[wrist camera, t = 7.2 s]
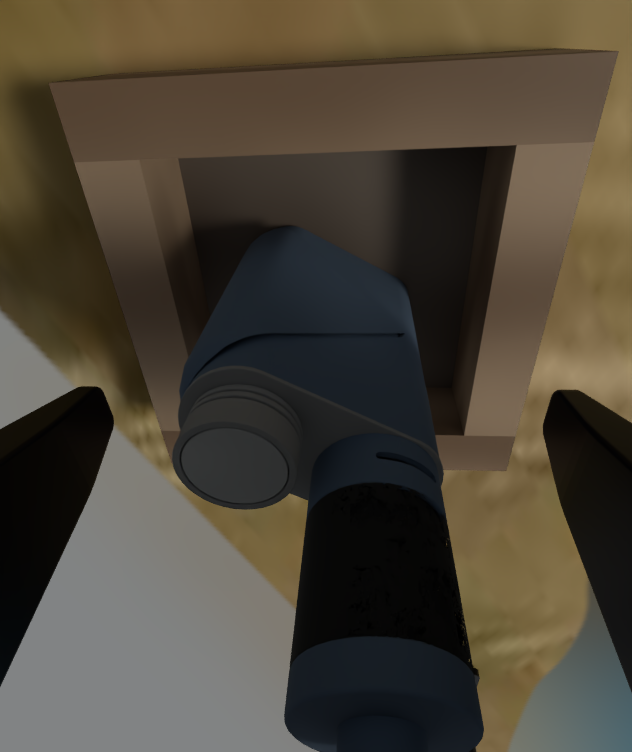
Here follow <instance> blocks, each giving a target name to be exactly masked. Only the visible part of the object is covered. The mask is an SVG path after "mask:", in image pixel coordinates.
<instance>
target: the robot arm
mask: <svg viewBox="0 0 632 752" xmlns="http://www.w3.org/2000/svg"><path fill="white" fill-rule="evenodd" d="M113 426H114V419H113V415H112V412H111V410H110V407H109V405H108V402H107V400H106V397H105V395H104V392H103V391H102V389H101V388H99V387H89V386H82V387H78V388H76V389H74V390H72V391H70V392H68V393H66V394H65V395H63V396H61V397H59V398H57V399H55V400H53V401H51V402H50V403H48V404H46V405H44V406H42V407H40V408H39V409H37V410H35V411H33V412H31V413H29V414H27V415H26V416H24V417H22V418H20V419H18V420H16V421H15V422H13V423H11V424H9V425H7V426H5V427H4V428H2V429H0V686H1V684H2V682H3V680H4V678H5V676H6V673H7V671H8V669H9V667H10V665H11V663H12V661H13V658H14V656H15V654H16V652H17V650H18V648H19V646H20V644H21V641H22V639H23V637H24V635H25V633H26V630H27V629H28V626H29V624H30V622H31V620H32V618H33V616H34V614H35V611H36V609H37V607H38V605H39V603H40V601H41V599H42V596H43V594H44V592H45V590H46V588H47V586H48V584H49V581H50V579H51V577H52V575H53V573H54V571H55V569H56V566H57V564H58V562H59V560H60V558H61V556H62V554H63V551H64V549H65V547H66V545H67V543H68V541H69V539H70V537H71V534H72V532H73V530H74V528H75V526H76V524H77V522H78V519H79V517H80V515H81V513H82V511H83V509H84V506H85V504H86V502H87V500H88V498H89V496H90V493H91V491H92V488H93V485H94V483H95V480H96V477H97V474H98V471H99V469H100V465H101V463H102V459H103V457H104V454H105V451H106V448H107V445H108V442H109V439H110V436H111V433H112V430H113ZM543 435H544V439H545V443H546V447H547V451H548V455H549V460H550V464H551V468H552V472H553V476H554V480H555V484H556V488H557V492H558V496H559V500H560V503H561V506H562V509H563V512H564V515H565V518H566V520H567V523H568V526H569V528H570V531H571V534H572V536H573V539H574V541H575V544H576V547H577V549H578V552H579V555H580V557H581V560H582V563H583V565H584V568H585V570H586V573H587V576H588V578H589V581H590V584H591V586H592V589H593V592H594V594H595V597H596V599H597V602H598V605H599V607H600V610H601V613H602V615H603V618H604V621H605V623H606V626H607V628H608V631H609V634H610V636H611V639H612V642H613V644H614V647H615V650H616V652H617V655H618V657H619V660H620V663H621V665H622V668H623V670H624V673H625V676H626V678H627V681H628V684H629V687H630V689H631V692H632V423H631V422H629V421H628V420H626V419H624V418H623V417H621V416H620V415H618V414H616V413H615V412H613V411H612V410H610V409H608V408H607V407H605V406H604V405H602V404H600V403H599V402H597V401H595V400H594V399H592V398H591V397H589V396H587V395H586V394H584V393H583V392H581V391H579V390H557V391H555V392H554V393H553V394H552V397H551V400H550V403H549V406H548V409H547V413H546V416H545V419H544V423H543ZM471 668H472V667H471ZM473 670H474V676H475V682H476V687H477V684H478V682H479V679H480V678H479V672H478V670H477V669H476V668H472V672H473ZM469 752H476V747H474V748H473V749H472V750H471V751H469Z"/></svg>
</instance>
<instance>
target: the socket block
mask: <svg viewBox="0 0 632 752" xmlns="http://www.w3.org/2000/svg"><path fill="white" fill-rule="evenodd" d="M618 52H619V51H603V50H582V49H544V50H527V51H509V52H492V53H474V54H456V55H439V56H421V57H404V58H386V59H369V60H351V61H333V62H316V63H298V64H281V65H263V66H246V67H228V68H210V69H193V70H175V71H158V72H140V73H122V74H109V75H102V76H95V77H88V78H81V79H74V80H66V81H59V82H52V83H49V86H50V89H51V92H52V95H53V98H54V102H55V105H56V108H57V111H58V114H59V117H60V120H61V123H62V126H63V129H64V132H65V136H66V139H67V142H68V145H69V148H70V151H71V154H72V157H73V160H74V163H75V166H76V169H77V173H78V176H79V179H80V182H81V185H82V188H83V191H84V194H85V197H86V200H87V203H88V206H89V210H90V213H91V216H92V219H93V222H94V225H95V228H96V231H97V234H98V237H99V240H100V243H101V247H102V250H103V253H104V256H105V259H106V262H107V265H108V268H109V271H110V274H111V277H112V281H113V284H114V287H115V290H116V293H117V296H118V299H119V302H120V305H121V308H122V311H123V314H124V318H125V321H126V324H127V327H128V330H129V333H130V336H131V339H132V342H133V345H134V348H135V351H136V355H137V358H138V361H139V364H140V367H141V370H142V373H143V376H144V379H145V382H146V385H147V388H148V392H149V395H150V398H151V401H152V404H153V407H154V410H155V413H156V416H157V419H158V422H159V426H160V429H161V432H162V435H163V438H164V441H165V444H166V447H167V450H168V453H169V456H170V459H171V463H172V464H173V462H172V452H173V448H174V445H175V443H176V441H177V438H178V436H179V434H180V432H181V430H180V427H179V422H178V409H179V405H180V402H181V401H180V394H179V389H180V384H181V379H182V374H183V369H184V365H185V363H186V361H187V359H188V358H189V356H190V354H191V352H192V350H193V348H194V346H195V345H196V343H197V341H198V339H199V337H200V335H201V334H202V332H203V330H204V328H205V326H206V324H207V322H208V321H209V319H210V317H211V315H212V313H213V311H214V309H215V308H216V306H217V304H218V302H219V300H220V298H221V296H222V295H223V293H224V291H225V289H226V287H227V285H228V284H229V282H230V280H231V278H232V276H233V274H234V272H235V271H236V269H237V267H238V265H239V263H240V261H241V259H242V258H243V256H244V254H245V252H246V251H247V249H248V248H249V246H250V244H251V243H252V242H253V241H255V240H256V239H257V238H258V237H259V236H260V235H262V234H264V233H266V232H268V231H271V230H273V229H278V228H280V227H285V226H296V227H300V228H303V229H305V230H307V231H309V232H311V233H313V234H315V235H317V236H318V237H320V238H322V239H324V240H326V241H328V242H330V243H332V244H334V245H336V246H338V247H340V248H341V249H343V250H345V251H347V252H349V253H351V254H353V255H355V256H357V257H359V258H361V259H362V260H364V261H366V262H368V263H370V264H372V265H374V266H376V267H378V268H380V269H382V270H384V271H385V272H387V273H389V274H391V275H393V276H395V277H397V278H398V279H400V280H401V281H402V282H403V283H404V285H405V286H406V288H407V290H408V295H409V301H410V306H411V311H412V317H413V322H414V328H415V333H416V338H417V344H418V349H419V354H420V360H421V365H422V371H423V376H424V381H425V386H426V390H427V394H428V399H429V405H430V410H431V415H432V421H433V426H434V431H435V437H436V442H437V447H438V453H439V458H440V460H441V463H442V466H443V470H477V471H506V470H507V466H508V462H509V458H510V455H511V451H512V447H513V444H514V440H515V436H516V432H517V429H518V425H519V421H520V417H521V414H522V410H523V406H524V402H525V399H526V395H527V391H528V388H529V384H530V380H531V376H532V373H533V369H534V365H535V361H536V358H537V354H538V350H539V346H540V343H541V339H542V335H543V332H544V328H545V324H546V320H547V317H548V313H549V309H550V305H551V302H552V298H553V294H554V290H555V287H556V283H557V279H558V276H559V272H560V268H561V264H562V261H563V257H564V253H565V249H566V246H567V242H568V238H569V234H570V231H571V227H572V223H573V220H574V216H575V212H576V208H577V205H578V201H579V197H580V193H581V190H582V186H583V182H584V178H585V175H586V171H587V167H588V164H589V160H590V156H591V152H592V149H593V145H594V141H595V137H596V134H597V130H598V126H599V122H600V119H601V115H602V111H603V108H604V104H605V100H606V96H607V93H608V89H609V85H610V81H611V78H612V74H613V70H614V66H615V63H616V59H617V55H618Z"/></svg>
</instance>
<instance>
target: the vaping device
mask: <svg viewBox="0 0 632 752" xmlns="http://www.w3.org/2000/svg"><path fill="white" fill-rule="evenodd" d="M179 394H180V401H181V402H180V405H179V409H178V422H179V427H180V430H181V432H180V434H179V436H178V438H177V441H176V443H175V445H174V448H173V452H172V462H173V467H174V469H175V472H176V474H177V476H178V477H179V479H180V480H181V481H182V483H183V484H184V485H185V486H186V487H187V488H188V489H189V490H191V491H192V492H193V493H195V494H196V495H198V496H199V497H201V498H203V499H204V500H207V501H209V502H211V503H213V504H216V505H220V506H223V507H228V508H233V509H258V508H264V507H267V506H270V505H273V504H275V503H277V502H279V501H281V500H282V499H283V498H285V497H286V496H287V495H288V494H289V493H290V494H293V495H296V496H298V497H301V498H303V499H306V500H308V510H307V521H306V528H305V537H304V546H303V555H302V563H301V572H300V581H299V590H298V599H297V608H296V616H295V626H294V634H293V644H292V652H291V661H290V671H289V678H288V687H287V696H286V705H285V714H284V717H285V724H286V727H287V729H288V731H289V732H290V733H291V734H292V735H293V736H294V737H295V738H296V739H297V740H299V741H300V742H301V743H303V744H305V745H307V746H308V747H310V748H312V749H315V750H317V751H319V752H469V751H471V750H472V749H473V748H474V747H476V746H477V745H478V744H479V742H480V741H481V739H482V737H483V731H484V727H483V721H482V715H481V710H480V704H479V699H478V693H477V687H476V682H475V676H474V670H473V672H472V668H471V667H473V666H472V664H471V663H472V659H470V658H471V654H470V648H469V642H468V637H467V634H466V633H467V632H466V626H465V620H464V615H462V613H463V611H462V610H463V609H462V603H460V602H461V598H460V592H459V586H458V581H457V575H456V570H455V564H454V558H453V553H452V547H451V541H450V536H449V530H448V525H447V519H446V513H445V508H444V502H443V497H442V491H441V485H442V482H443V475H444V473H443V466H442V463H441V460H440V458H439V453H438V447H437V442H436V437H435V431H434V426H433V421H432V415H431V410H430V405H429V399H428V394H427V390H426V386H425V381H424V376H423V371H422V365H421V360H420V354H419V349H418V344H417V338H416V333H415V328H414V322H413V317H412V311H411V306H410V301H409V295H408V290H407V288H406V286H405V285H404V283H403V282H402V281H401V280H400V279H398V278H397V277H395V276H393V275H391V274H389V273H387V272H385V271H384V270H382V269H380V268H378V267H376V266H374V265H372V264H370V263H368V262H366V261H364V260H362V259H361V258H359V257H357V256H355V255H353V254H351V253H349V252H347V251H345V250H343V249H341V248H340V247H338V246H336V245H334V244H332V243H330V242H328V241H326V240H324V239H322V238H320V237H318V236H317V235H315V234H313V233H311V232H309V231H307V230H305V229H303V228H300V227H296V226H285V227H280V228H278V229H273V230H271V231H268V232H266V233H264V234H262V235H260V236H259V237H258V238H257V239H256V240H255V241H253V242H252V243H251V244H250V246H249V248H248V249H247V251H246V252H245V254H244V256H243V258H242V259H241V261H240V263H239V265H238V267H237V269H236V271H235V272H234V274H233V276H232V278H231V280H230V282H229V284H228V285H227V287H226V289H225V291H224V293H223V295H222V296H221V298H220V300H219V302H218V304H217V306H216V308H215V309H214V311H213V313H212V315H211V317H210V319H209V321H208V322H207V324H206V326H205V328H204V330H203V332H202V334H201V335H200V337H199V339H198V341H197V343H196V345H195V346H194V348H193V350H192V352H191V354H190V356H189V358H188V359H187V361H186V363H185V365H184V369H183V374H182V379H181V384H180V389H179ZM447 538H448V539H449V540H448V539H447ZM446 540H447V542H446ZM446 543H447V546H446ZM456 601H457V602H456ZM455 614H456V616H455ZM459 614H460V615H459ZM462 616H463V617H462ZM461 618H462V619H461ZM462 620H463V621H464V623H463V621H462ZM462 626H463V627H464V628H465V630H464V628H463V627H462ZM464 631H465V632H464ZM463 641H464V643H463ZM464 645H465V646H464ZM468 649H469V650H468ZM469 659H470V662H469Z"/></svg>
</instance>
